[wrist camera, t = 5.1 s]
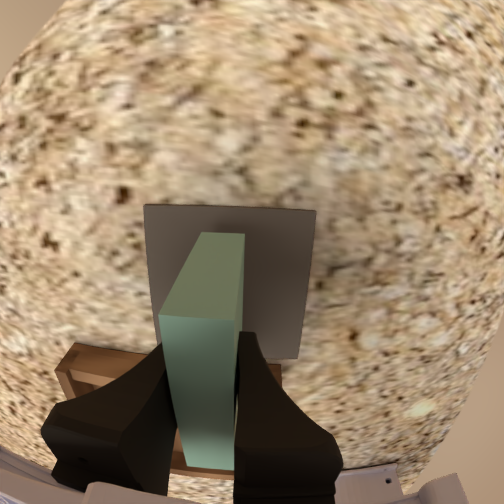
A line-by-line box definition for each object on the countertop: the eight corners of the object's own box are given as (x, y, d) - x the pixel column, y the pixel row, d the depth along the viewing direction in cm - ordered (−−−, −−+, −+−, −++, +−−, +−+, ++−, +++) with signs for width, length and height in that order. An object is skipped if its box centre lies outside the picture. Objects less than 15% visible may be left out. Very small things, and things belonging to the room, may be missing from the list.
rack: (280, 364, 20) (283, 400, 17) (267, 456, 24) (267, 485, 21) (74, 342, 20) (54, 370, 17) (111, 437, 24) (101, 462, 21)
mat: (315, 210, 16) (316, 211, 16) (296, 356, 19) (297, 359, 19) (145, 204, 16) (143, 205, 16) (159, 347, 19) (158, 350, 19)
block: (244, 233, 14) (234, 320, 8) (241, 366, 17) (234, 470, 11) (201, 232, 14) (158, 314, 8) (206, 364, 17) (187, 466, 11)
